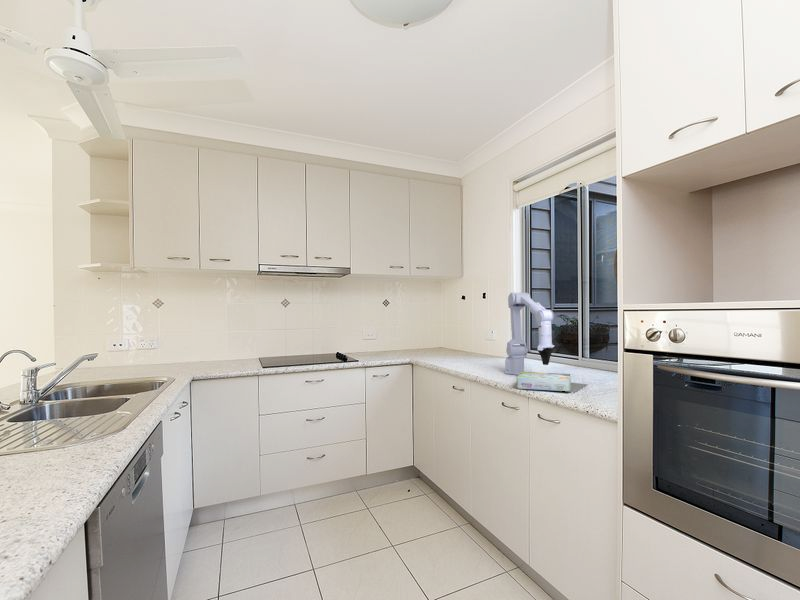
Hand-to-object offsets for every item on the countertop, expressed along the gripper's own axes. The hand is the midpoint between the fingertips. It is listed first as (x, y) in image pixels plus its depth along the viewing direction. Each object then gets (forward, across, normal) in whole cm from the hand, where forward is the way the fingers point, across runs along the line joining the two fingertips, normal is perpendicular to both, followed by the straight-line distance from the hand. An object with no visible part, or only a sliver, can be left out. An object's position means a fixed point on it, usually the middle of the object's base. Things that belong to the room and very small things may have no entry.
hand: (545, 364), depth 172 cm
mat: (+9, -2, -10) cm, 13 cm away
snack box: (+6, -3, -1) cm, 6 cm away
